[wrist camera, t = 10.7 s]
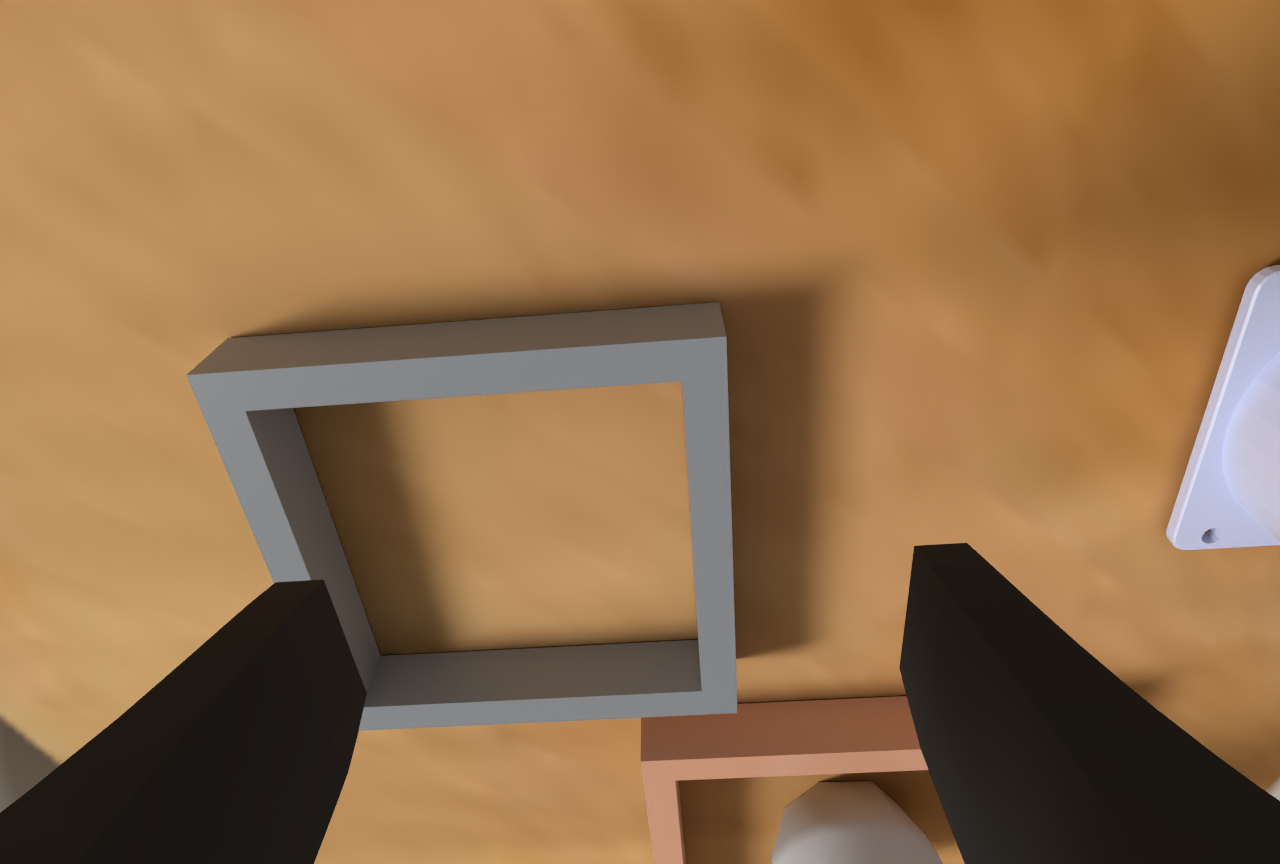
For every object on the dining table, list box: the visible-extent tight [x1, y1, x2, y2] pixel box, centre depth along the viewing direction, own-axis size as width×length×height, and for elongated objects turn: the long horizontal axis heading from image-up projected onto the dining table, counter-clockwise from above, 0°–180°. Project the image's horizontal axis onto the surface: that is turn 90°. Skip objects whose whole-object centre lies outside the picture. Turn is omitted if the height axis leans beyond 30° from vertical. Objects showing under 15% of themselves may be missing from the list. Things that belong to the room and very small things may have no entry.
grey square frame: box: [187, 302, 737, 731], centre depth 21 cm, size 12×12×2 cm
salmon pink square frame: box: [641, 696, 928, 864], centre depth 28 cm, size 14×14×2 cm
